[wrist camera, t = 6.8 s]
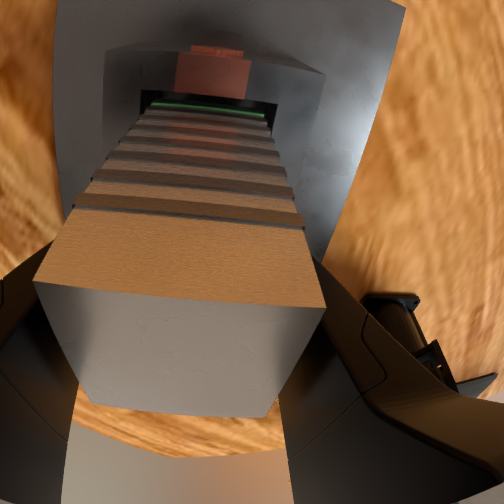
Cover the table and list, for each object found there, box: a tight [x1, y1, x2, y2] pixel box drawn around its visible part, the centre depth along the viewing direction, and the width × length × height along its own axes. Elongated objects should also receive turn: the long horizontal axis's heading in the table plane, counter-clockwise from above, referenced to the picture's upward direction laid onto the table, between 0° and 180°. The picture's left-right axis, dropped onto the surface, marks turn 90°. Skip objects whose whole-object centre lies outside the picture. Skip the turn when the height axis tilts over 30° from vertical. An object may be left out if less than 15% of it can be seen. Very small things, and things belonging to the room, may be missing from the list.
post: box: [32, 98, 326, 417], centre depth 9 cm, size 4×4×10 cm
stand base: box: [53, 0, 406, 263], centre depth 14 cm, size 18×18×7 cm
